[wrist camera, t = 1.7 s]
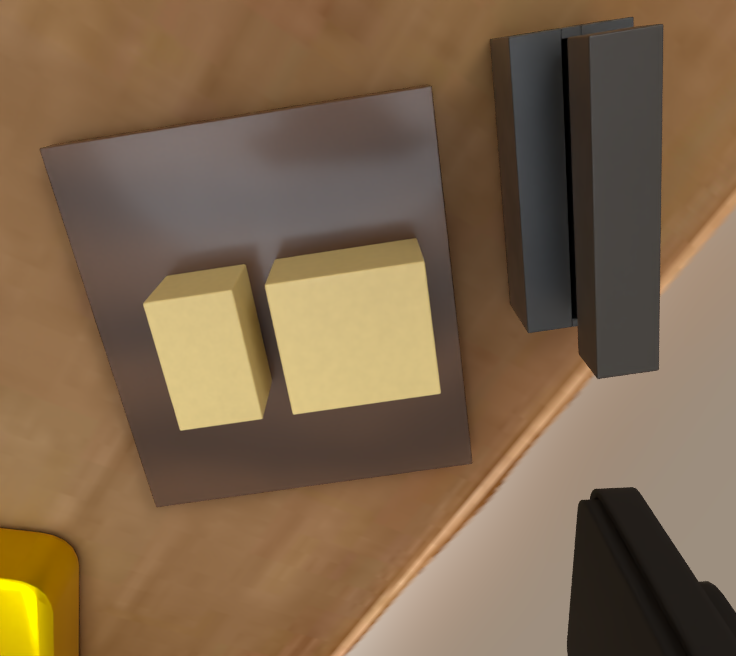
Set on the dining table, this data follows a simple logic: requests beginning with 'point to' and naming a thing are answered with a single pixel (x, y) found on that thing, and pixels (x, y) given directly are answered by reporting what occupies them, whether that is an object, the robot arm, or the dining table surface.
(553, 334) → the dining table surface
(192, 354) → the butter slice
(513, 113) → the scraper stand
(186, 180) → the cutting board
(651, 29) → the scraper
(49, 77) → the dining table surface
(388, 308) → the butter
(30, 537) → the element tile
